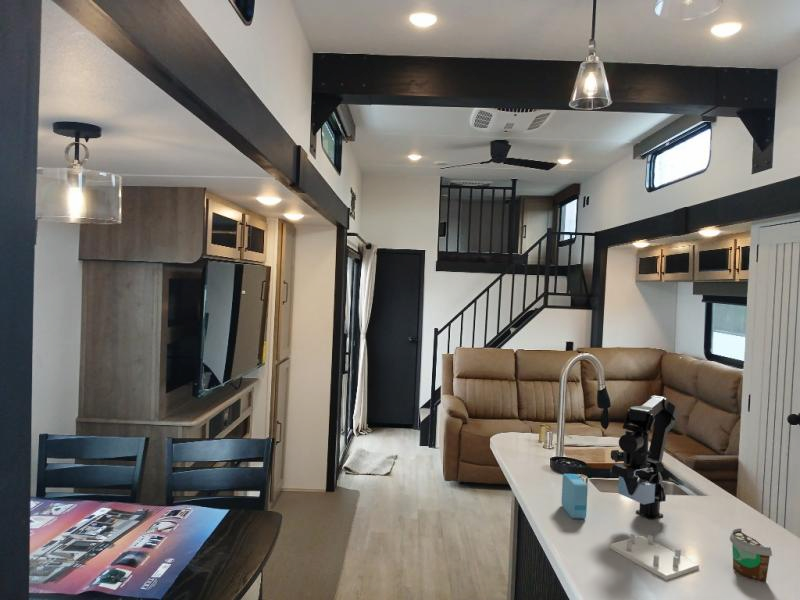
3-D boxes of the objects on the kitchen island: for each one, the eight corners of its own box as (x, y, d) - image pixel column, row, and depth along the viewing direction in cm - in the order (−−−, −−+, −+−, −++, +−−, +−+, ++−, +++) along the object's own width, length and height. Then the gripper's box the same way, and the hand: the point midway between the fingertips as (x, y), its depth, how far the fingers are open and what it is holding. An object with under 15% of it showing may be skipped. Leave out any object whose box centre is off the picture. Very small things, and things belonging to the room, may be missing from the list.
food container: (718, 561, 158) (720, 527, 158) (737, 561, 158) (739, 527, 158) (748, 585, 146) (750, 548, 145) (770, 584, 146) (772, 548, 146)
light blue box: (586, 520, 182) (588, 485, 182) (573, 520, 182) (574, 484, 182) (573, 505, 194) (575, 472, 194) (561, 505, 194) (562, 472, 194)
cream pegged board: (641, 539, 170) (641, 527, 170) (698, 568, 153) (699, 556, 153) (609, 548, 163) (610, 536, 163) (666, 580, 147) (667, 566, 146)
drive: (628, 490, 183) (629, 472, 183) (654, 502, 174) (655, 483, 174) (618, 493, 181) (619, 474, 181) (643, 504, 172) (644, 485, 172)
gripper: (636, 437, 189) (634, 481, 189) (598, 442, 180) (596, 489, 180) (665, 446, 179) (663, 492, 179) (626, 452, 170) (624, 501, 170)
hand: (636, 493), depth 178 cm, fingers closed on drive, 5 cm apart
